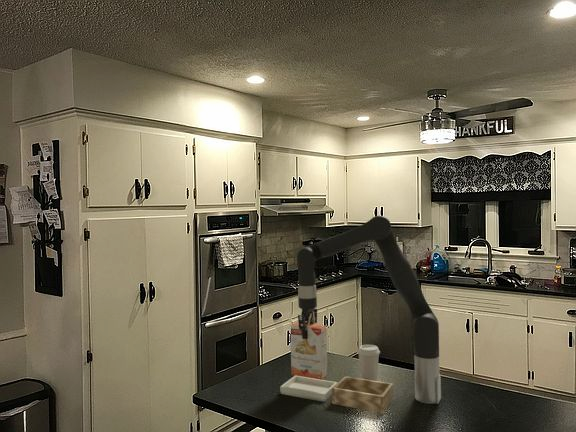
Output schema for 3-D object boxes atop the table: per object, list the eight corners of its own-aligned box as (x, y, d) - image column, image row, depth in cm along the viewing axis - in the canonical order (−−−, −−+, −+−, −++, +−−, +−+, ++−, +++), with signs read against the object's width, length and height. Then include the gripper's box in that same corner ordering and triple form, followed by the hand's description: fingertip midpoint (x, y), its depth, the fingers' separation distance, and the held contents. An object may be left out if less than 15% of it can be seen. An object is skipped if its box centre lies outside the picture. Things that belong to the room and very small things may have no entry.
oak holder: (393, 398, 185) (393, 383, 185) (383, 413, 172) (383, 396, 172) (345, 390, 194) (345, 376, 194) (332, 403, 182) (332, 388, 181)
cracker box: (290, 375, 194) (289, 324, 194) (297, 370, 200) (296, 321, 199) (322, 380, 188) (320, 328, 187) (328, 375, 193) (326, 324, 193)
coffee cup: (379, 378, 207) (378, 344, 207) (381, 386, 197) (381, 350, 197) (357, 377, 208) (356, 344, 208) (358, 386, 198) (357, 350, 198)
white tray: (337, 389, 195) (337, 382, 195) (324, 402, 183) (324, 394, 183) (295, 382, 204) (295, 375, 204) (280, 393, 192) (280, 386, 192)
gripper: (308, 299, 185) (309, 342, 185) (322, 293, 198) (323, 333, 198) (291, 298, 188) (292, 340, 189) (306, 292, 201) (307, 331, 201)
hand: (308, 336), depth 193 cm, fingers closed on cracker box, 6 cm apart
